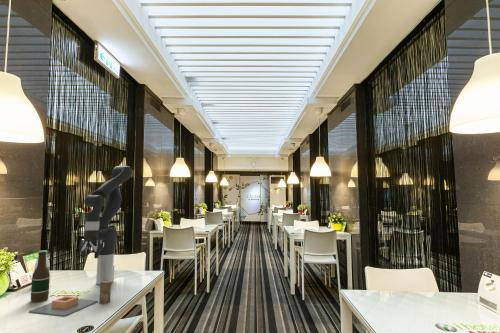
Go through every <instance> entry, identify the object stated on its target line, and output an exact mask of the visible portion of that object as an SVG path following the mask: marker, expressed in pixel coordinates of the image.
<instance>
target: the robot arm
mask: <svg viewBox="0 0 500 333" xmlns="http://www.w3.org/2000/svg"><path fill="white" fill-rule="evenodd" d="M112 169H113V170H112V171H111V172H112V173H111V177H110V178H111V179H109V180H107V181H105V182H103V183H102V184H101V186H99V187H98V188H97V189H96V190H94V191H92V192H91V193H89V194H88V195H86V196H85V198H84V200H83V201H84V202H83V203H84V205H85V206H86V207H88V208H92V209H91V210H90V211H87V212H86V215H85V216H86V218H85V224H84V236H83V238H82V239H79V244H78V250H79V251H81V258H82V259H85V258H86V257H87V249H88V248H92V249H93V250H94V255H93V257H94V258H93V259H96V260H97V261H96V281H95V283H96V285H100V282H103V281H111V284H112V283H113V282H114V281H115V280H114V279H115V265H114V263H115V262H114V261H115V260H114V257H115V250H116V244H117V231H116V229H115V228H114V227H109V225H110V222H111V221H112V219H113V218H114V216H116V214H117V213H118V212H119V211H120V209H121V205H122V201H123V196H122V193H121V191H120V185H122V184H123V183H124V182H126V181H128V180H129V179H130V178H131V177H132V176H133V170H132V168H131V166H128V165H117V166H114V168H112ZM105 199H106V200H105ZM104 200H105V202H104ZM103 206H104V207H103ZM102 210H103V211H102ZM101 213H102V214H101ZM100 216H101V217H100ZM103 243H104V244H103ZM103 245H104V246H103Z"/></svg>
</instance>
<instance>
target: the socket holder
mask: <svg viewBox="0 0 500 333" xmlns="http://www.w3.org/2000/svg"><path fill="white" fill-rule="evenodd" d="M97 303H99V300H93V299H87V298H85V299H83V298H79V296H72V295H71V296H69V295H64V296H62V297H59V298H56V299H53V300H52V301H51V302H50V303H47V304H44V305H41V306H39V307H35V308H34V309H31V310H29V311H28V313H31V314H38V315H39V314H40V315H49V316H55V315H56V316H57V317H64V316H65V317H67V316H70V315H71V314H74V313H76V312H78V311H80V310H83V309H86V308H88V307H89V306H91V305H92V306H93V305H94V304H97Z"/></svg>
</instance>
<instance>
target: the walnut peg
mask: <svg viewBox="0 0 500 333" xmlns="http://www.w3.org/2000/svg"><path fill="white" fill-rule="evenodd" d="M111 290H112V283H111V281H103V282H100V284H99V298H98V299H99V300H98V303H99V304H100V305H101V304H103V305H107V304H108V303H110V302H111V298H112V297H111V292H112V291H111Z"/></svg>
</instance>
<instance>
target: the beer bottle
mask: <svg viewBox="0 0 500 333" xmlns="http://www.w3.org/2000/svg"><path fill="white" fill-rule="evenodd" d="M41 251H42V252H39V251H38V254H37V255H38V258H37V260H38V265H37V268H36V270H35V271H34V270H33V272H32V275H31V276H32V277H31V286H30V287H31V289H30V301H31V303H41V302H45V301H47V300H49V294H50V281H51V274H50V271H49V270H48V269H47V267H46V254H47V255H48V253H47V252H45V251H43V250H41Z"/></svg>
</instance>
